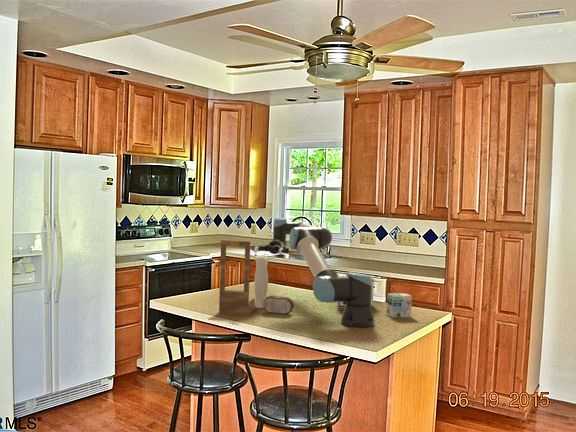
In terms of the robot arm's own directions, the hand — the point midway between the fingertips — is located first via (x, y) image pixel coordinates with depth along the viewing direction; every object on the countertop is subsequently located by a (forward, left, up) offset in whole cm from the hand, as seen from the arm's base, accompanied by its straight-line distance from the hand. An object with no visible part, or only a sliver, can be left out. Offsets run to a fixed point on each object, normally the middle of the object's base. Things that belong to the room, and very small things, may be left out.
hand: (267, 251), depth 291 cm
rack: (-21, +14, -28) cm, 38 cm away
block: (-4, -48, -28) cm, 55 cm away
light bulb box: (-24, -66, -28) cm, 75 cm away
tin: (-23, -6, -28) cm, 37 cm away
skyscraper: (-10, +2, -28) cm, 30 cm away
